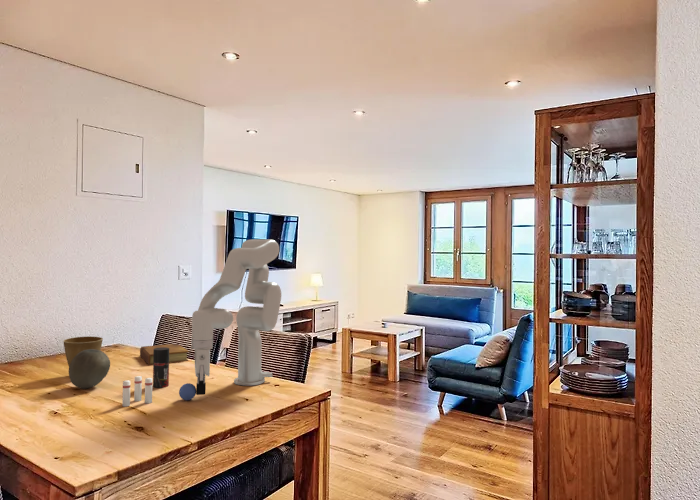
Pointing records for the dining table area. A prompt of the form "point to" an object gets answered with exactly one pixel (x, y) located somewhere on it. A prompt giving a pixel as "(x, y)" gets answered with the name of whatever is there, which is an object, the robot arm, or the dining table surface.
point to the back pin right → (138, 388)
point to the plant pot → (80, 346)
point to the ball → (187, 391)
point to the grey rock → (88, 368)
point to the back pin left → (126, 393)
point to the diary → (175, 353)
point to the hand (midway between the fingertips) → (200, 394)
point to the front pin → (148, 390)
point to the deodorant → (161, 367)
